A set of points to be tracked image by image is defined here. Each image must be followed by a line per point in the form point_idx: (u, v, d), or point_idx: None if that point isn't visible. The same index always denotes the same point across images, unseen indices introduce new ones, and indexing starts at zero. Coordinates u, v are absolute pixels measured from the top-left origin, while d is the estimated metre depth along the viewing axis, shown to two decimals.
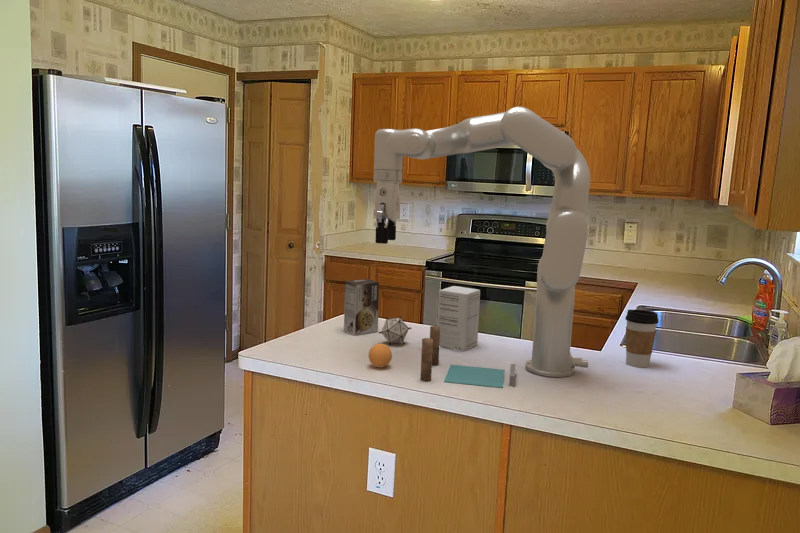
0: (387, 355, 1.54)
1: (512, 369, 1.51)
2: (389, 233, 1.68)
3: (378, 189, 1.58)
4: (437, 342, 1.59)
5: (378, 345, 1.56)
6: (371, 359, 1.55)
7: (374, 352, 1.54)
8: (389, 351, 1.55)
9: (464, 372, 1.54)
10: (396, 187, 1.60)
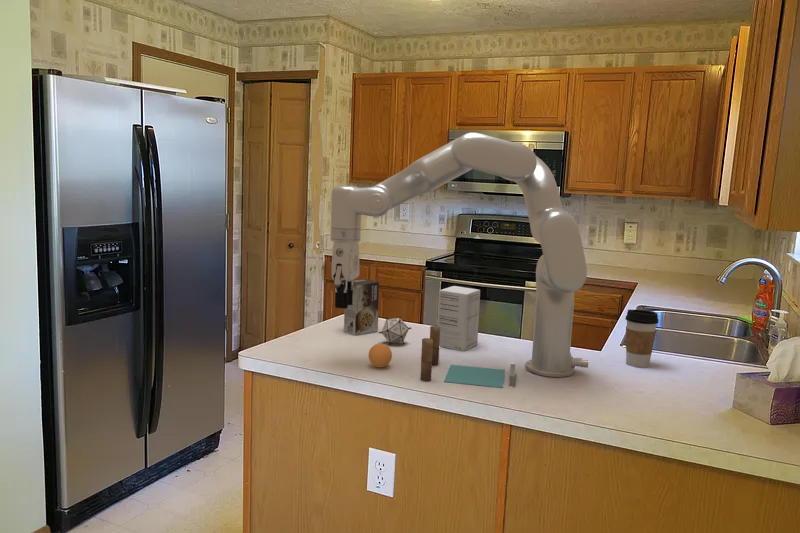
0: (387, 355, 1.54)
1: (512, 369, 1.51)
2: None
3: (334, 249, 1.51)
4: (437, 342, 1.59)
5: (378, 345, 1.56)
6: (371, 359, 1.55)
7: (374, 352, 1.54)
8: (389, 351, 1.55)
9: (464, 372, 1.54)
10: (354, 246, 1.53)
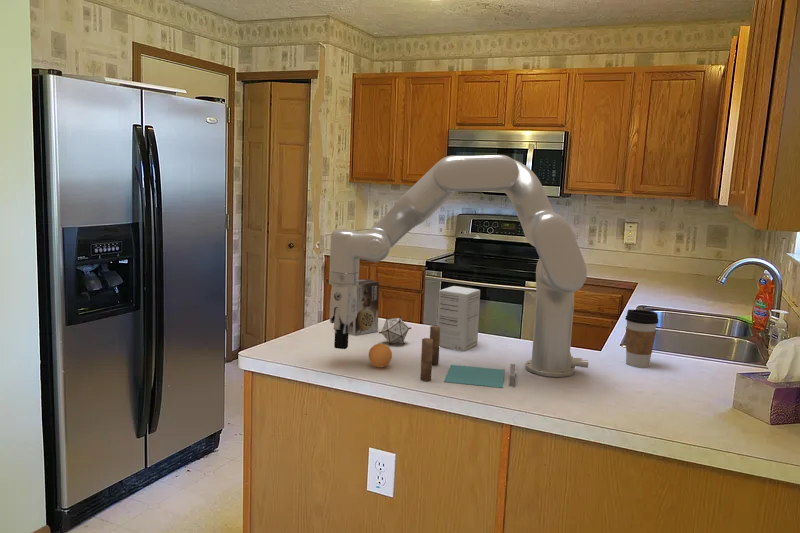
0: (387, 355, 1.54)
1: (512, 369, 1.51)
2: None
3: (332, 293, 1.52)
4: (437, 342, 1.59)
5: (378, 345, 1.56)
6: (371, 359, 1.55)
7: (374, 352, 1.54)
8: (389, 351, 1.55)
9: (464, 372, 1.54)
10: (352, 290, 1.54)
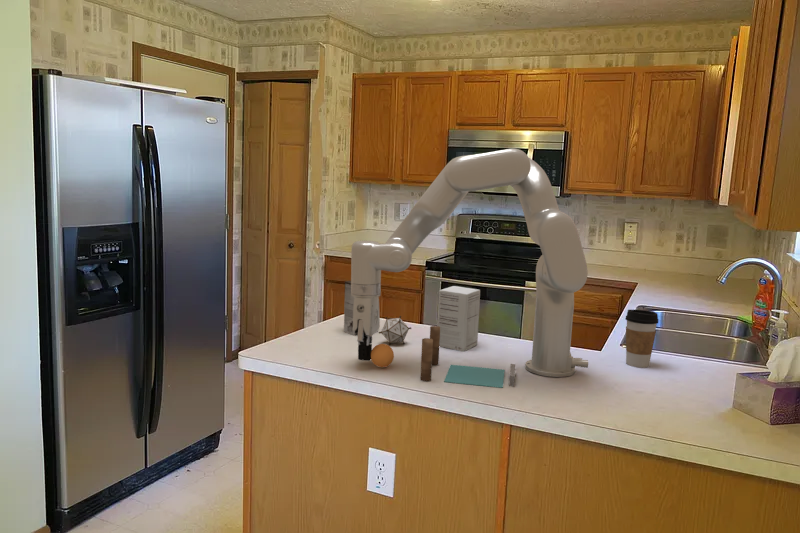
0: (390, 357, 1.54)
1: (512, 369, 1.51)
2: None
3: (355, 305, 1.52)
4: (437, 342, 1.59)
5: (382, 345, 1.55)
6: (373, 358, 1.55)
7: (377, 351, 1.54)
8: (392, 353, 1.55)
9: (464, 372, 1.54)
10: (374, 301, 1.54)
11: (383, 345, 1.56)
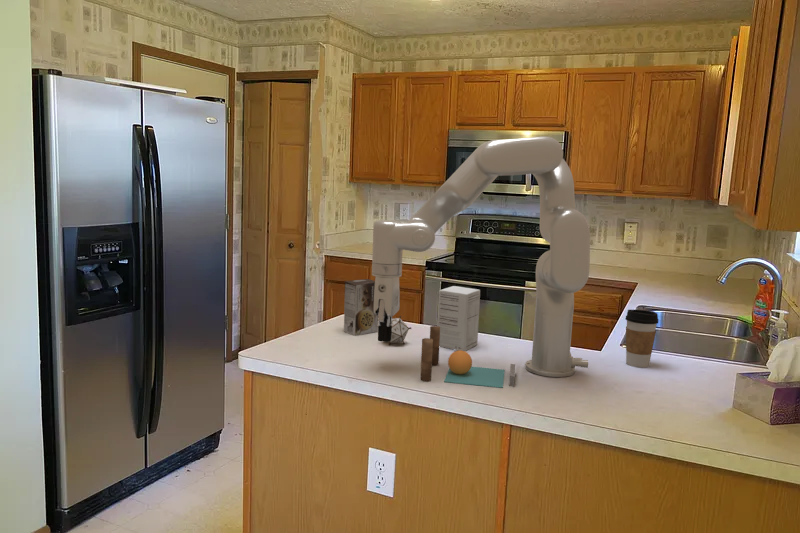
0: (468, 367, 1.51)
1: (512, 369, 1.51)
2: None
3: (377, 284, 1.50)
4: (437, 342, 1.59)
5: (464, 353, 1.52)
6: (452, 362, 1.51)
7: (458, 357, 1.51)
8: (471, 364, 1.52)
9: None
10: (395, 281, 1.52)
11: (465, 353, 1.52)
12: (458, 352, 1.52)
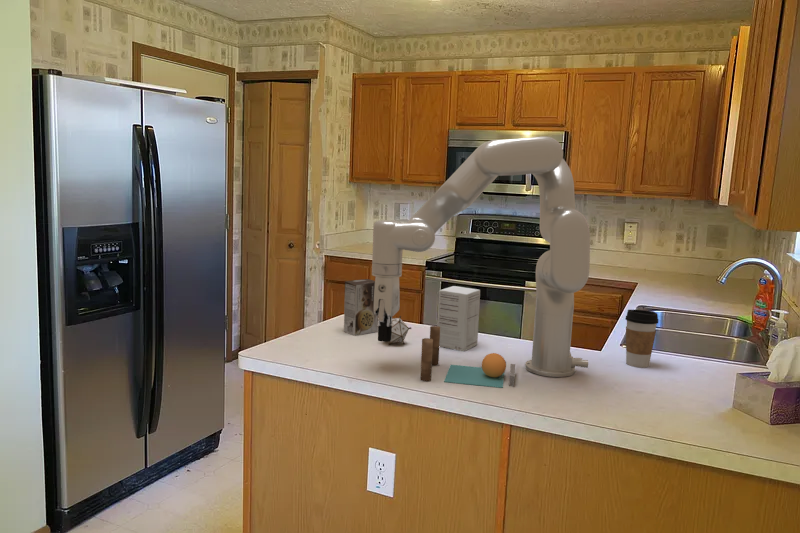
0: (483, 367, 1.51)
1: (512, 369, 1.51)
2: None
3: (377, 284, 1.50)
4: (437, 342, 1.59)
5: None
6: (501, 367, 1.49)
7: (496, 374, 1.50)
8: (482, 368, 1.52)
9: (464, 372, 1.54)
10: (395, 281, 1.52)
11: None
12: (498, 376, 1.51)
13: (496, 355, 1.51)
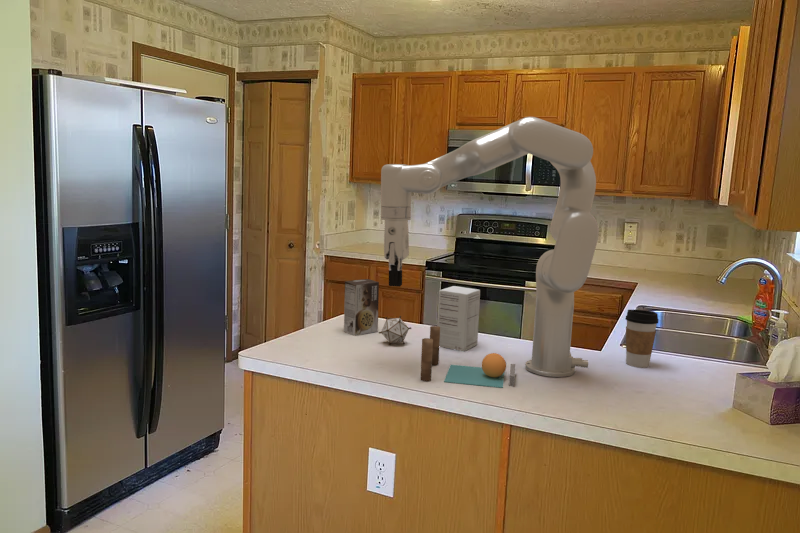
0: (483, 367, 1.51)
1: (512, 369, 1.51)
2: None
3: (386, 228, 1.50)
4: (437, 342, 1.59)
5: None
6: (501, 367, 1.49)
7: (496, 374, 1.50)
8: (482, 368, 1.52)
9: (464, 372, 1.54)
10: (405, 224, 1.52)
11: None
12: (498, 376, 1.51)
13: (496, 355, 1.51)
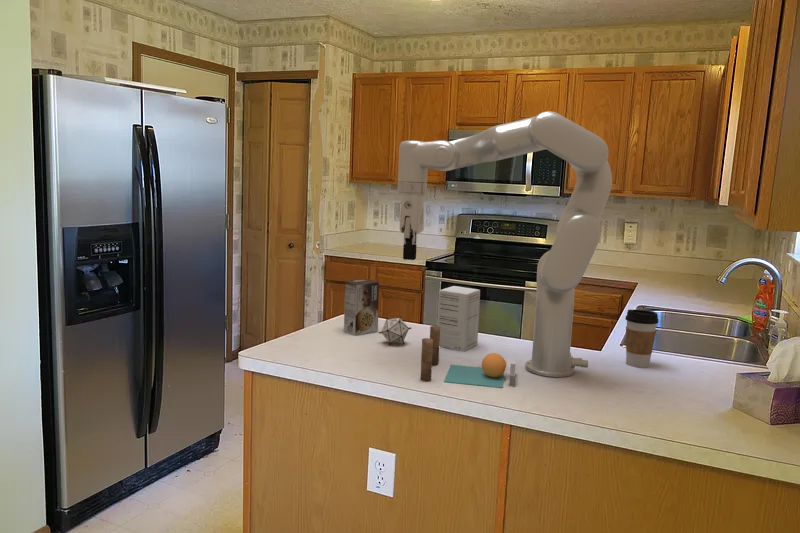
0: (483, 367, 1.51)
1: (512, 369, 1.51)
2: None
3: (403, 202, 1.55)
4: (437, 342, 1.59)
5: None
6: (501, 367, 1.49)
7: (496, 374, 1.50)
8: (482, 368, 1.52)
9: (464, 372, 1.54)
10: (421, 199, 1.57)
11: None
12: (498, 376, 1.51)
13: (496, 355, 1.51)
